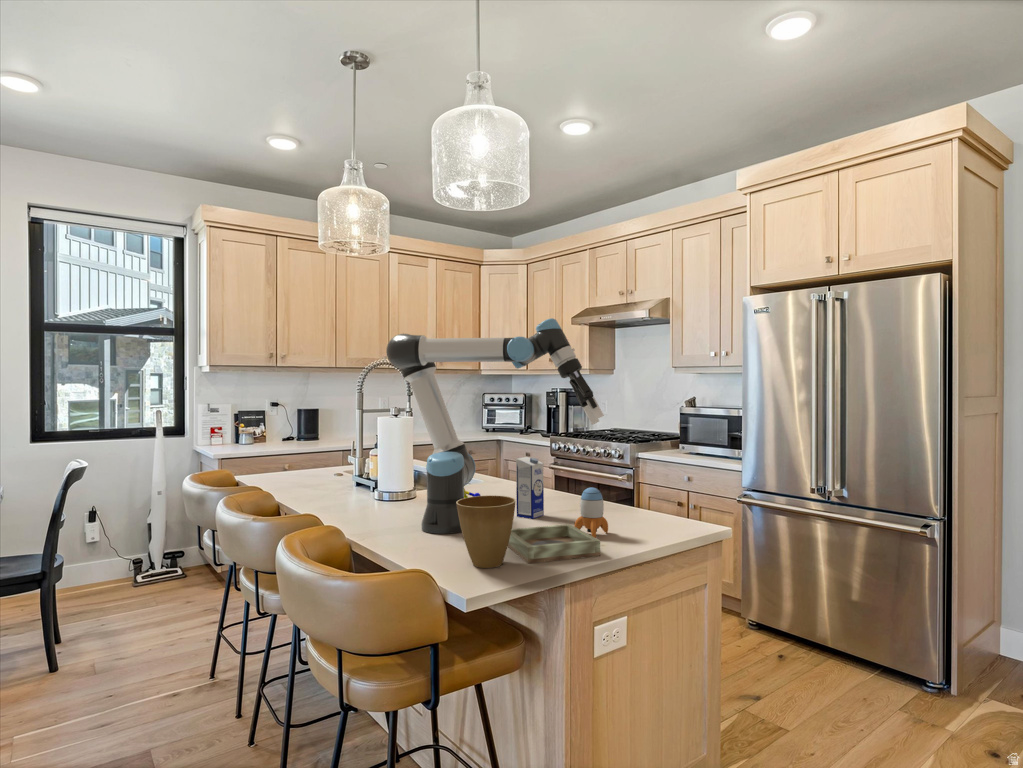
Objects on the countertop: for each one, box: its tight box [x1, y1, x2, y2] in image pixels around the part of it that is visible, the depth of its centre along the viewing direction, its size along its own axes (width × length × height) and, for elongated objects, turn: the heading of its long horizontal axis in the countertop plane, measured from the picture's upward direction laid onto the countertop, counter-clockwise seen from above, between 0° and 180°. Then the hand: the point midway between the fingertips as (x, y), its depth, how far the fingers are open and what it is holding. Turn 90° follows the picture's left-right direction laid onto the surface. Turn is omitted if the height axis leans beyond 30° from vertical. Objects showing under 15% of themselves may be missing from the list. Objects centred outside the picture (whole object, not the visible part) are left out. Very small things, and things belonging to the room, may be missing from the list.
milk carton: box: [515, 456, 545, 520], centre depth 207 cm, size 7×7×20 cm
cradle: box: [507, 523, 601, 564], centre depth 164 cm, size 20×20×4 cm
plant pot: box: [456, 495, 517, 569], centre depth 152 cm, size 15×15×16 cm
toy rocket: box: [573, 487, 609, 539], centre depth 179 cm, size 10×11×15 cm
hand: (597, 420), depth 193 cm, fingers open, 13 cm apart
